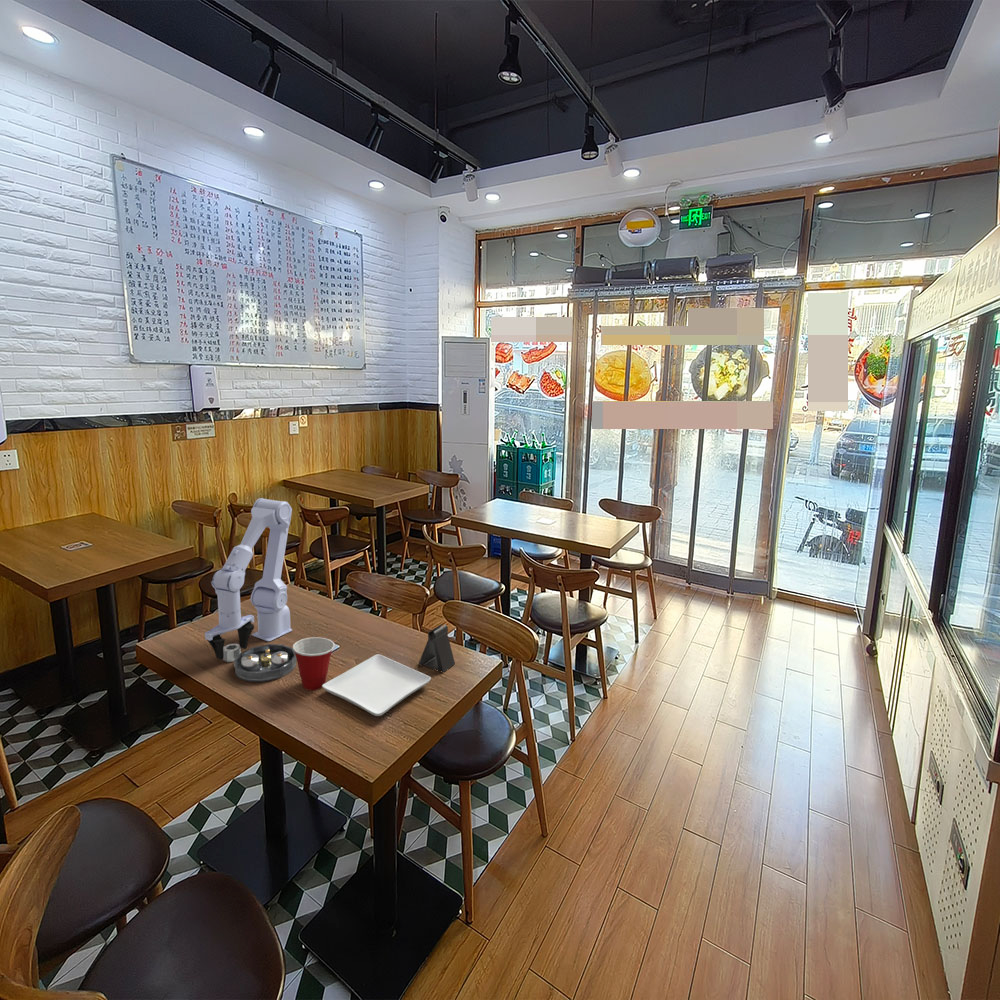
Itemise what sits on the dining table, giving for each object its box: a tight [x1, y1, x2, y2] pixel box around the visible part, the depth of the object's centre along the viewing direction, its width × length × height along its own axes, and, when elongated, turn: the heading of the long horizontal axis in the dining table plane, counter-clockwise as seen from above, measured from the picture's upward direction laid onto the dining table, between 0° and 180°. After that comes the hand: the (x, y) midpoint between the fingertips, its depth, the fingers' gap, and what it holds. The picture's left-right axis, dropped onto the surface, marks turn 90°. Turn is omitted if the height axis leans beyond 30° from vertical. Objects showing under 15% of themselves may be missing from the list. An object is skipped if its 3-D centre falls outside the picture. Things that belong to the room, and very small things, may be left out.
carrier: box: [233, 643, 297, 683], centre depth 153 cm, size 16×16×5 cm
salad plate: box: [322, 653, 432, 717], centre depth 145 cm, size 21×21×3 cm
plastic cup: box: [292, 636, 336, 691], centre depth 145 cm, size 11×11×12 cm
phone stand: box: [418, 623, 456, 673], centre depth 159 cm, size 9×6×12 cm, turn 60°
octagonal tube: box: [222, 643, 242, 663], centre depth 157 cm, size 4×4×3 cm
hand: (231, 653), depth 157 cm, fingers open, 7 cm apart
